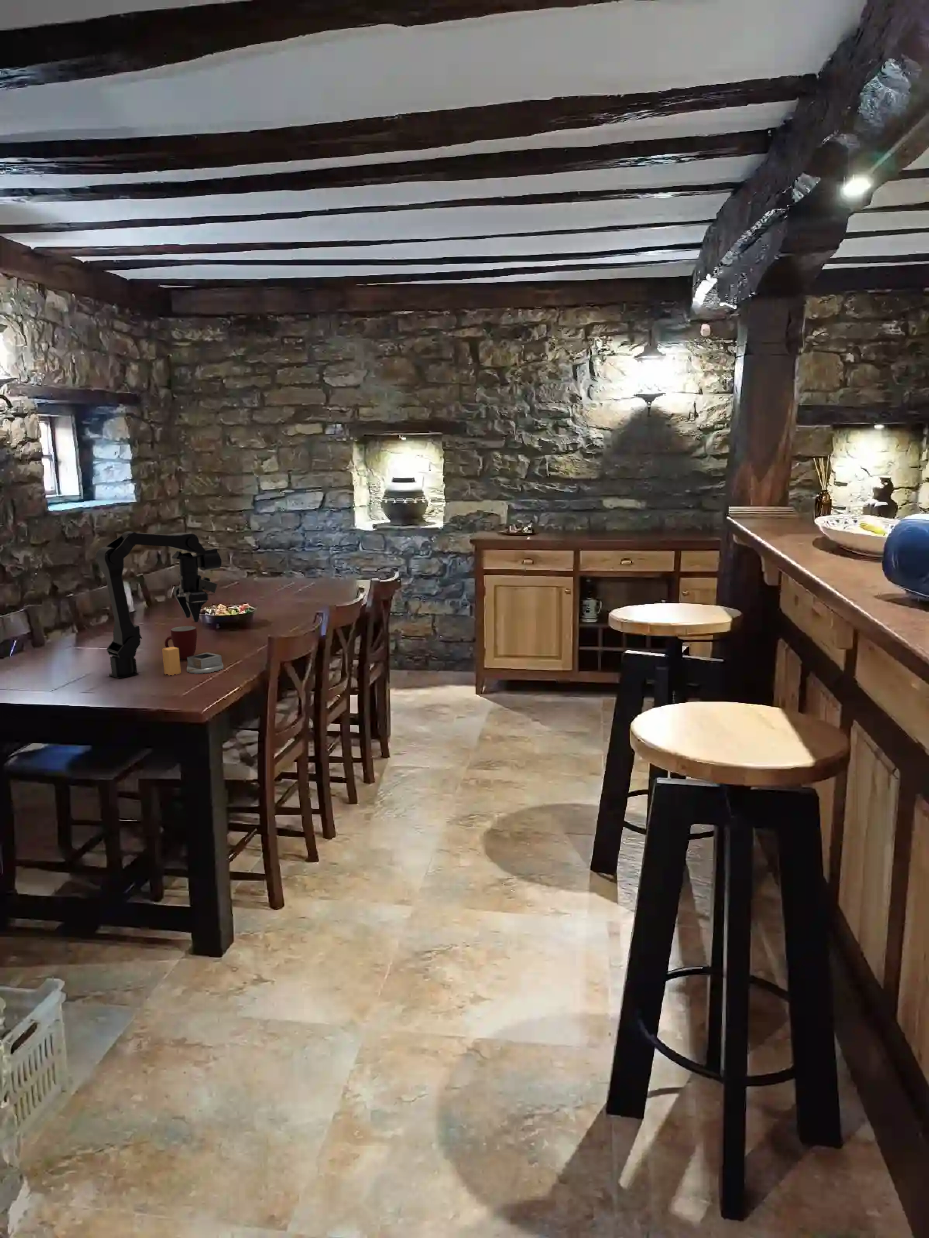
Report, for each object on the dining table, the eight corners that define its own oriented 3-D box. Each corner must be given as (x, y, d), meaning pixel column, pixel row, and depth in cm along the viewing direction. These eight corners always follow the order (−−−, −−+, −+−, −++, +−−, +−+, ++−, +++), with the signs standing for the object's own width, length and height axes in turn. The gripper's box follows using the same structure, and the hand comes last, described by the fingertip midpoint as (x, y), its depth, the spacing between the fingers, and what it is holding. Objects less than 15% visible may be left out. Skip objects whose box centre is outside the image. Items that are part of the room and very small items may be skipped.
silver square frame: (200, 675, 271) (199, 662, 270) (180, 670, 278) (178, 657, 277) (230, 668, 279) (229, 655, 278) (210, 663, 286) (209, 650, 285)
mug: (163, 662, 289) (160, 632, 287) (168, 656, 297) (165, 627, 295) (197, 660, 290) (194, 630, 288) (200, 654, 298) (197, 625, 296)
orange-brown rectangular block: (170, 675, 272) (168, 650, 270) (164, 674, 274) (162, 648, 273) (180, 673, 275) (178, 648, 273) (174, 671, 277) (172, 646, 275)
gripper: (222, 573, 281) (225, 621, 284) (205, 567, 297) (208, 613, 300) (187, 576, 275) (191, 625, 278) (171, 569, 291) (174, 616, 294)
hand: (192, 619), depth 288 cm, fingers open, 9 cm apart
